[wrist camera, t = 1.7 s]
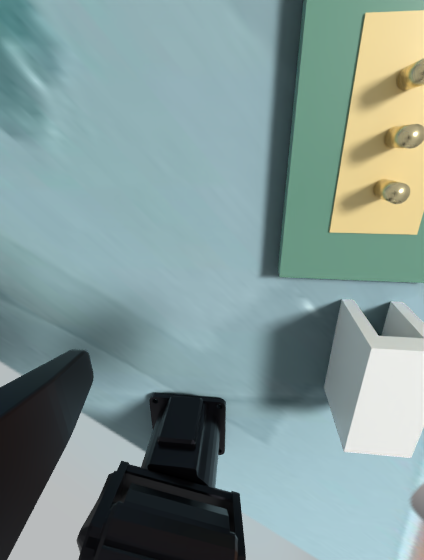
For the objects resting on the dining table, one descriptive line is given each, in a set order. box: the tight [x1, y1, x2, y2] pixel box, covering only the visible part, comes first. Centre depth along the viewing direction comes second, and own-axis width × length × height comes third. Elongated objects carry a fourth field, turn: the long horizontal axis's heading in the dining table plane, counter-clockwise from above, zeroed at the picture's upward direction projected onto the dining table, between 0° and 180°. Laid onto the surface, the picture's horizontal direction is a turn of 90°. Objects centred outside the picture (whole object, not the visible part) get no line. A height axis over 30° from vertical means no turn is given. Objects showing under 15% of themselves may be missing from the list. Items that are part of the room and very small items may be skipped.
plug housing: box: [324, 299, 424, 458], centre depth 20 cm, size 8×4×6 cm, turn 0°
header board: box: [278, 0, 424, 283], centre depth 15 cm, size 16×10×3 cm, turn 0°
